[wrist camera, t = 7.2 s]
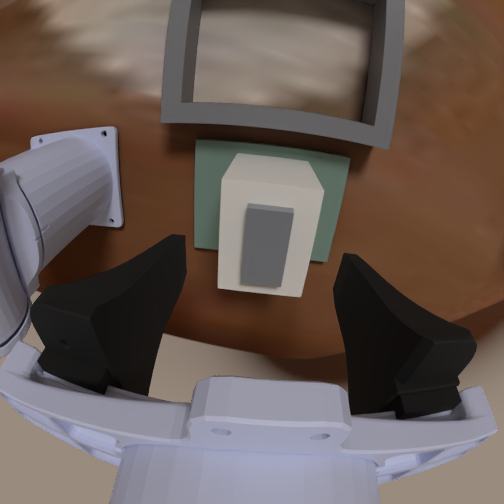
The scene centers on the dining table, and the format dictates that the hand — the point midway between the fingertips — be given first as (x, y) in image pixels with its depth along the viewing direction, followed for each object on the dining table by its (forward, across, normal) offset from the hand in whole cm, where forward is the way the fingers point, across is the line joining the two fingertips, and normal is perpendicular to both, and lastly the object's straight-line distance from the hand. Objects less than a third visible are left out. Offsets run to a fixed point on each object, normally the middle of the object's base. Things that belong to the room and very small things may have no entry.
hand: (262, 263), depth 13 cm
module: (+7, 0, 0) cm, 7 cm away
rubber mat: (+8, 0, 0) cm, 8 cm away
